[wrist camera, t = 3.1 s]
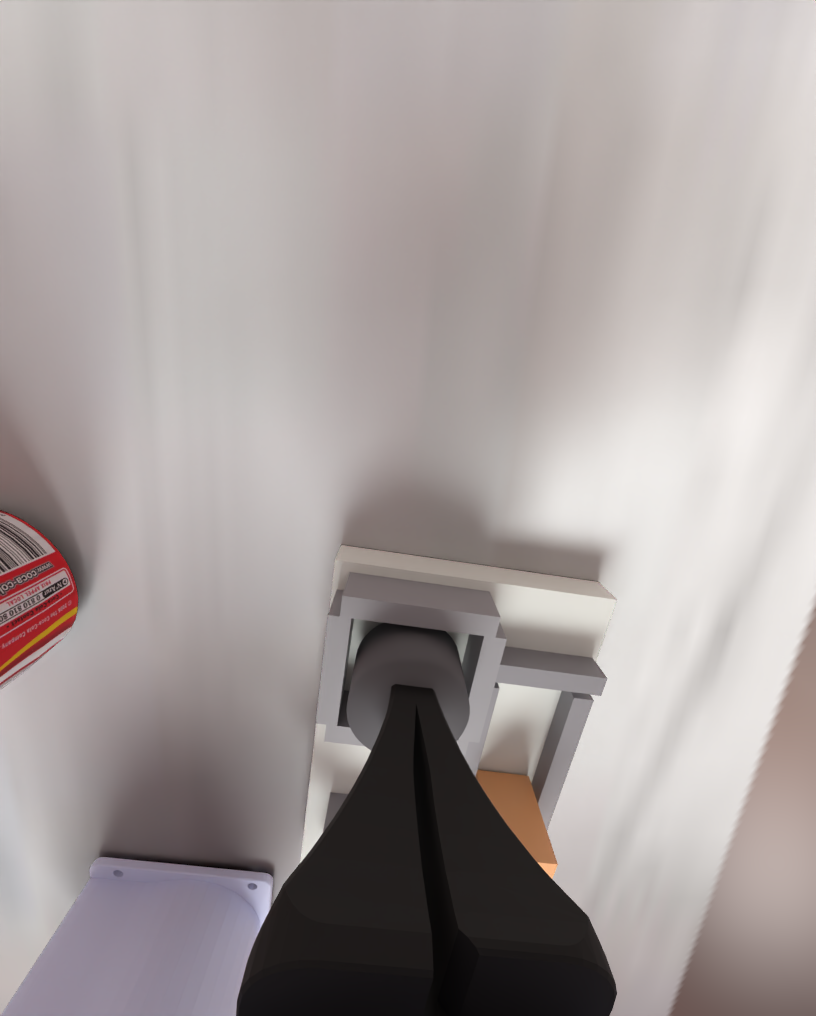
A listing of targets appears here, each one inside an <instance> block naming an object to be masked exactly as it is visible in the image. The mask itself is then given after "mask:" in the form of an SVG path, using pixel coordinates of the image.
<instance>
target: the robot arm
mask: <svg viewBox="0 0 816 1016" xmlns="http://www.w3.org/2000/svg"><path fill="white" fill-rule="evenodd" d="M272 888H273V878H272V876H271V875H270V874H268V873H263V872H253V871H242V870H232V869H222V868H212V867H202V866H191V865H181V864H171V863H161V862H150V861H140V860H130V859H120V858H109V857H99V858H97V859H95V860H94V862H93V863H92V865H91V866H90V879H89V881H88V882H87V884H86V885H85V887H84V888H83V890H82V891H81V893H80V894H79V896H78V897H77V899H76V901H75V902H74V904H73V905H72V907H71V908H70V910H69V911H68V913H67V914H66V916H65V917H64V919H63V920H62V922H61V924H60V925H59V927H58V928H57V930H56V931H55V933H54V934H53V936H52V937H51V939H50V940H49V942H48V944H47V945H46V947H45V948H44V950H43V951H42V953H41V954H40V956H39V957H38V959H37V960H36V962H35V963H34V965H33V967H32V968H31V970H30V971H29V973H28V974H27V976H26V977H25V979H24V980H23V982H22V983H21V985H20V986H19V988H18V990H17V991H16V993H15V994H14V996H13V997H12V999H11V1000H10V1002H9V1003H8V1005H7V1006H6V1008H5V1009H4V1011H3V1013H2V1014H1V1016H609V1015H610V1013H611V1011H612V1008H613V1005H614V1002H615V998H616V995H617V991H616V984H615V981H614V978H613V975H612V972H611V970H610V967H609V964H608V961H607V958H606V956H605V953H604V951H603V949H602V946H601V944H600V942H599V939H598V937H597V935H596V933H595V931H594V928H593V926H592V924H591V922H590V919H589V917H588V916H587V915H586V914H585V913H584V912H583V911H582V910H581V909H580V908H579V907H578V906H577V904H576V903H575V902H574V901H573V900H572V899H571V898H570V897H569V896H568V895H567V894H566V893H565V892H564V891H563V890H562V889H561V888H560V887H559V886H558V885H557V884H556V883H555V882H554V881H553V880H552V879H551V877H550V876H549V875H548V874H547V873H546V872H545V871H544V870H543V868H542V867H541V866H540V865H539V864H538V863H537V862H536V860H535V859H534V858H533V857H532V856H531V854H530V853H529V852H528V851H527V849H526V848H525V847H524V845H523V844H522V843H521V842H520V840H519V839H518V838H517V837H516V835H515V834H514V833H513V831H512V830H511V829H510V828H509V826H508V825H507V824H506V822H505V821H504V819H503V818H502V817H501V815H500V814H499V812H498V811H497V810H496V808H495V807H494V805H493V804H492V802H491V801H490V799H489V798H488V796H487V795H486V793H485V792H484V790H483V788H482V787H481V785H480V784H479V782H478V780H477V779H476V777H475V775H474V774H473V772H472V770H471V768H470V767H469V765H468V763H467V761H466V759H465V758H464V756H463V754H462V752H461V750H460V748H459V746H458V744H457V742H456V740H455V738H454V736H453V734H452V732H451V730H450V728H449V725H448V723H447V721H446V719H445V716H444V714H443V712H442V709H441V707H440V704H439V702H438V699H437V696H436V693H435V691H434V690H433V689H432V688H425V687H416V686H408V685H401V684H394V685H393V686H391V692H390V698H389V703H388V709H387V713H386V716H385V719H384V721H383V724H382V727H381V729H380V732H379V735H378V737H377V739H376V742H375V744H374V746H373V748H372V750H371V752H370V755H369V757H368V759H367V761H366V763H365V765H364V767H363V769H362V771H361V773H360V774H359V776H358V778H357V780H356V782H355V784H354V785H353V787H352V789H351V790H350V792H349V794H348V795H347V797H346V799H345V800H344V802H343V804H342V805H341V807H340V809H339V810H338V812H337V813H336V815H335V816H334V818H333V819H332V821H331V822H330V824H329V825H328V826H327V828H326V829H325V831H324V832H323V833H322V835H321V836H320V838H319V839H318V841H317V842H316V843H315V845H314V846H313V848H312V849H311V850H310V852H309V853H308V854H307V855H306V857H305V858H304V859H303V860H302V862H301V863H300V864H299V865H298V867H297V868H296V869H295V870H294V872H293V873H292V874H291V875H290V877H289V878H288V879H287V880H286V882H285V883H284V884H283V886H282V888H281V890H280V892H279V894H278V896H277V897H276V899H275V901H274V903H273V905H272V907H271V900H272Z"/></svg>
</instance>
